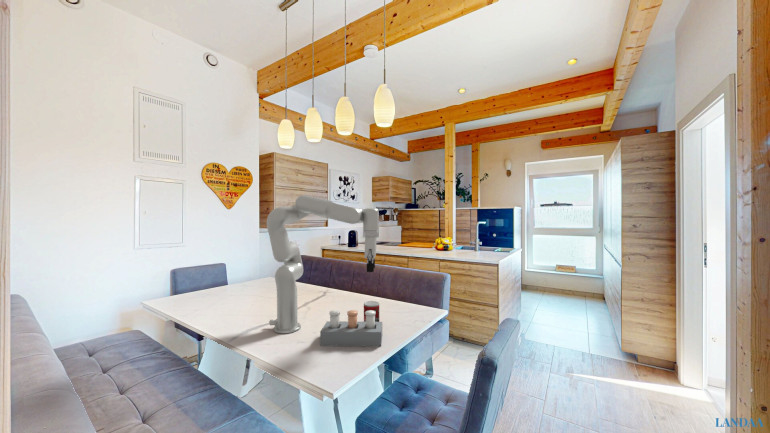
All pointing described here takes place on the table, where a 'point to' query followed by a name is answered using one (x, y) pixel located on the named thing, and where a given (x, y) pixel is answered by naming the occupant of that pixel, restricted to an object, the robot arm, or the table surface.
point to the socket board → (351, 335)
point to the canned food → (372, 306)
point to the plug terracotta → (352, 319)
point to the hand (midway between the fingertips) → (370, 269)
